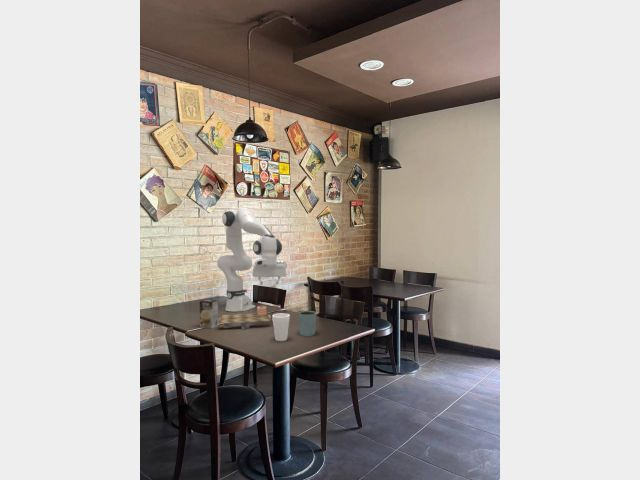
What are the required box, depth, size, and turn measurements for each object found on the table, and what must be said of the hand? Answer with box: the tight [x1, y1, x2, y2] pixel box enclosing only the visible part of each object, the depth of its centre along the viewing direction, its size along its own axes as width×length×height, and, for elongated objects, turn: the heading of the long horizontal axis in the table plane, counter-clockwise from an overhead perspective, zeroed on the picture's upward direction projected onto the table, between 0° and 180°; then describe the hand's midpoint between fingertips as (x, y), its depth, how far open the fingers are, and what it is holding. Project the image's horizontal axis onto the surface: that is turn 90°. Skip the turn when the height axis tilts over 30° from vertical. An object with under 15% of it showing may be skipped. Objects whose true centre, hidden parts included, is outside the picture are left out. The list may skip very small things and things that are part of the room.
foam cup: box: [271, 312, 291, 342], centre depth 212 cm, size 10×9×13 cm
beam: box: [218, 312, 272, 330], centre depth 235 cm, size 30×8×8 cm, turn 102°
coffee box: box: [199, 298, 219, 329], centre depth 238 cm, size 9×6×16 cm
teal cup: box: [298, 310, 317, 337], centre depth 222 cm, size 10×10×12 cm
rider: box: [256, 305, 267, 315], centre depth 237 cm, size 5×6×6 cm
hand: (269, 284), depth 238 cm, fingers open, 8 cm apart
